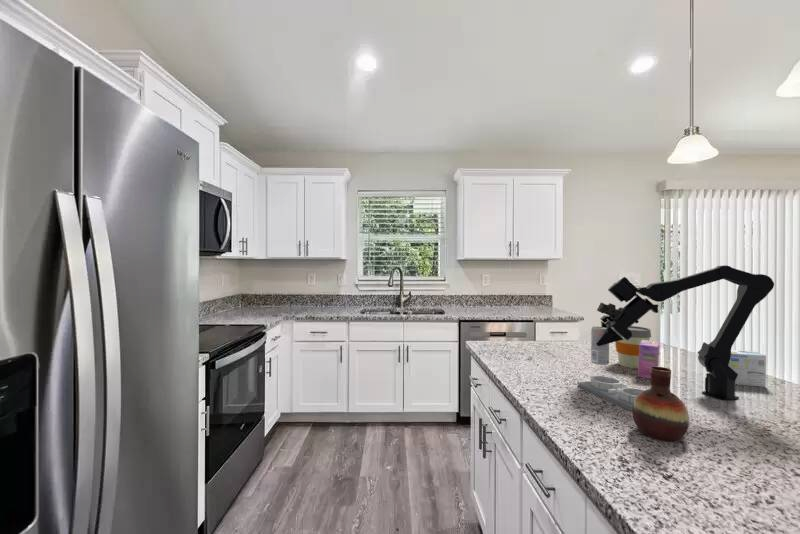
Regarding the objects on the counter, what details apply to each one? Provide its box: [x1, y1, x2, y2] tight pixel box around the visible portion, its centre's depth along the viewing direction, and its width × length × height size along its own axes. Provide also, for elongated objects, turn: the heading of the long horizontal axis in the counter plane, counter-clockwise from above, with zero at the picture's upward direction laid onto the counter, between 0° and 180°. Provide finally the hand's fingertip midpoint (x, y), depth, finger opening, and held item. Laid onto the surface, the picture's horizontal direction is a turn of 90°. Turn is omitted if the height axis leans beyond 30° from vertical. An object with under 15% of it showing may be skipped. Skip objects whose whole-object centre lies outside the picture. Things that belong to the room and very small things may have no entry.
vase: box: [631, 366, 690, 442], centre depth 90 cm, size 11×11×15 cm
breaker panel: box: [577, 375, 646, 412], centre depth 116 cm, size 22×13×3 cm, turn 12°
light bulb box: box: [728, 349, 767, 388], centre depth 131 cm, size 11×7×11 cm, turn 74°
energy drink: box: [590, 326, 610, 366], centre depth 129 cm, size 5×5×12 cm
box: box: [637, 340, 660, 380], centre depth 139 cm, size 10×6×12 cm, turn 143°
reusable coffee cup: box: [614, 325, 652, 369], centre depth 153 cm, size 13×13×15 cm
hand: (595, 343), depth 130 cm, fingers closed on energy drink, 5 cm apart
